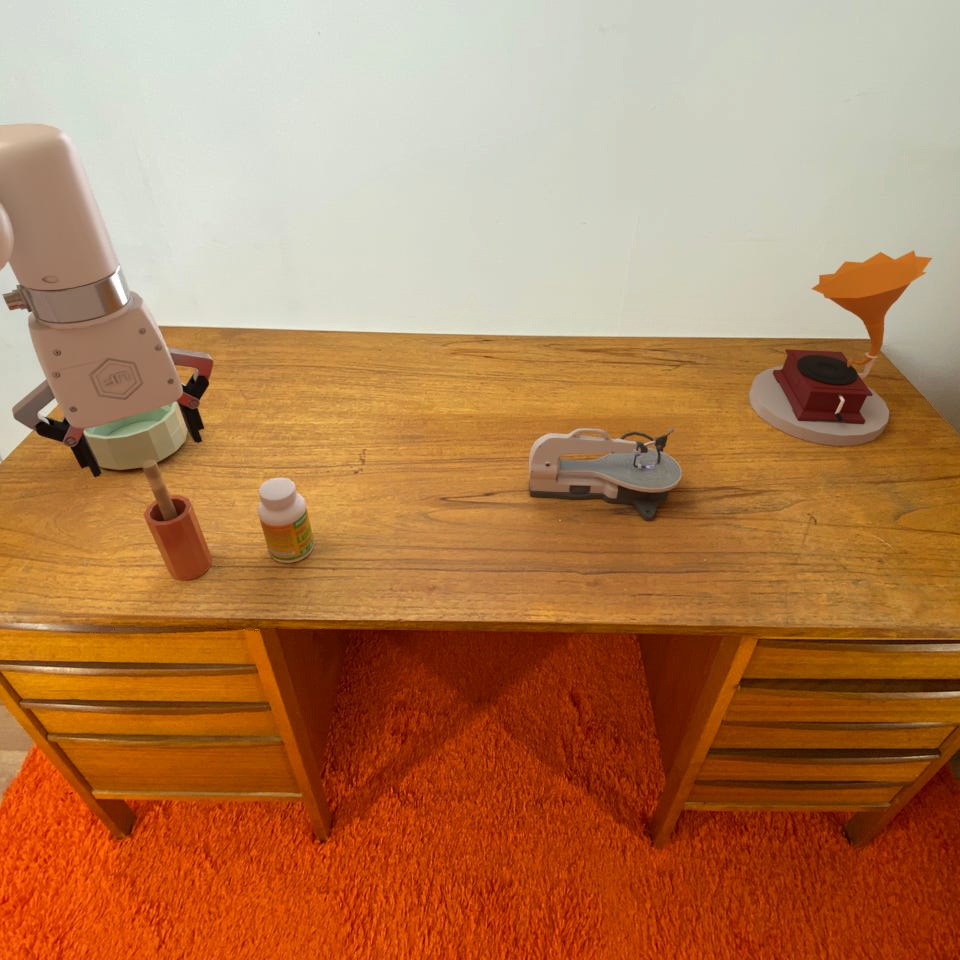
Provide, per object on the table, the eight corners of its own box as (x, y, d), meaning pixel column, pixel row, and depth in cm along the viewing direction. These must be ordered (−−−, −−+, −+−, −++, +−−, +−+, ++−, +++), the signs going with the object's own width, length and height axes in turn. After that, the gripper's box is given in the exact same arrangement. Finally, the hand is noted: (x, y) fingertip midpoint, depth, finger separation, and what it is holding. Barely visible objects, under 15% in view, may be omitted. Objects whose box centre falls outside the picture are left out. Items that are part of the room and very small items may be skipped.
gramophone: (855, 378, 111) (922, 232, 94) (907, 450, 95) (997, 290, 79) (735, 372, 112) (781, 226, 95) (767, 442, 96) (828, 282, 80)
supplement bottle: (307, 565, 76) (293, 505, 70) (263, 563, 76) (245, 503, 70) (319, 533, 80) (307, 474, 74) (277, 531, 80) (261, 471, 74)
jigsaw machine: (535, 453, 76) (531, 400, 85) (529, 517, 83) (526, 462, 91) (703, 458, 76) (682, 404, 84) (683, 521, 83) (665, 466, 91)
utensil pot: (175, 586, 73) (150, 531, 67) (164, 560, 76) (139, 505, 70) (217, 569, 75) (196, 513, 69) (205, 544, 78) (184, 489, 72)
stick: (185, 568, 75) (143, 469, 65) (181, 560, 75) (140, 462, 66) (197, 563, 75) (157, 464, 65) (194, 556, 76) (154, 457, 66)
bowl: (100, 485, 86) (82, 449, 82) (82, 436, 95) (66, 402, 91) (199, 452, 92) (187, 417, 88) (174, 409, 100) (163, 375, 96)
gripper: (-39, 338, 48) (58, 505, 59) (196, 284, 55) (243, 442, 66) (-45, 301, 52) (47, 462, 64) (173, 256, 60) (220, 407, 71)
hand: (147, 452), depth 65 cm, fingers open, 9 cm apart
